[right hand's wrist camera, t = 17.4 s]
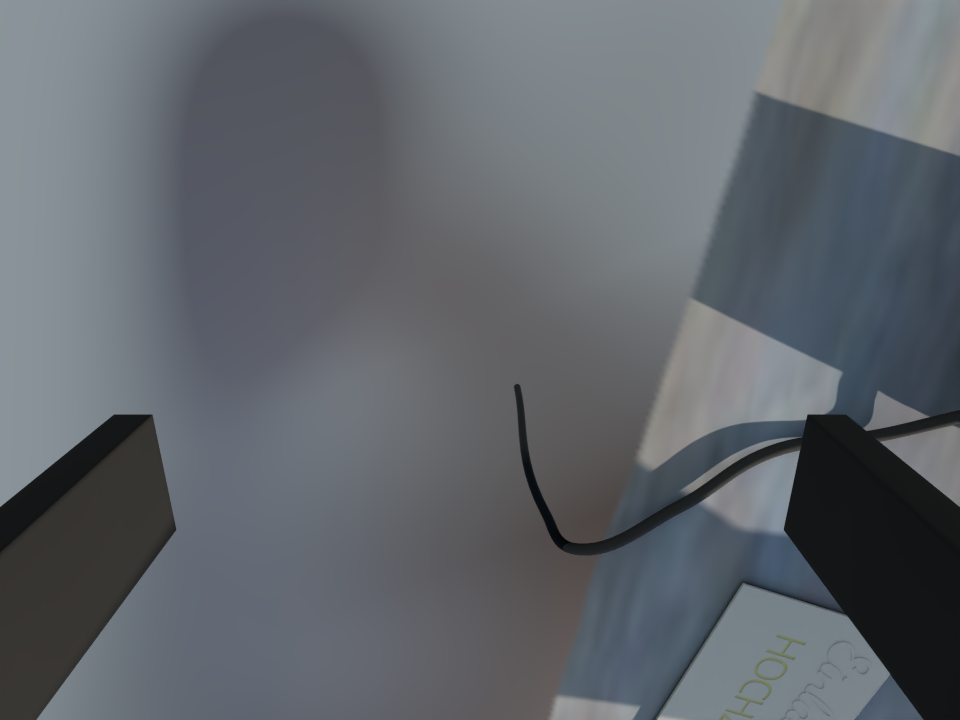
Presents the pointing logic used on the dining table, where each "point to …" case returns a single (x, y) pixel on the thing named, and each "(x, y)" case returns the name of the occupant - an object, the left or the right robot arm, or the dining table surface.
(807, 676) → the invitation card
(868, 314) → the dining table surface
